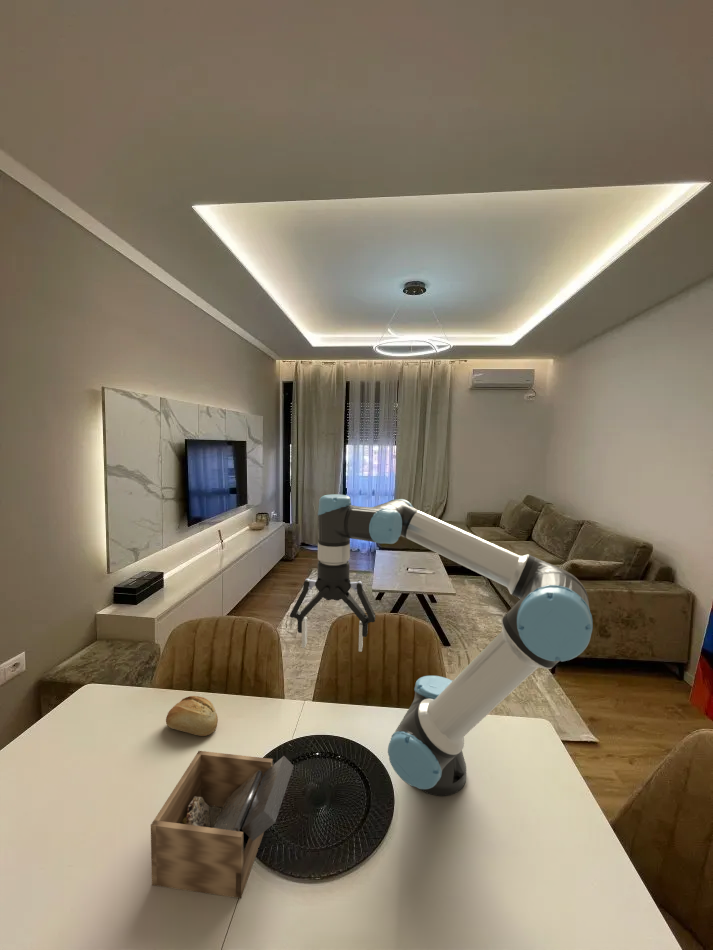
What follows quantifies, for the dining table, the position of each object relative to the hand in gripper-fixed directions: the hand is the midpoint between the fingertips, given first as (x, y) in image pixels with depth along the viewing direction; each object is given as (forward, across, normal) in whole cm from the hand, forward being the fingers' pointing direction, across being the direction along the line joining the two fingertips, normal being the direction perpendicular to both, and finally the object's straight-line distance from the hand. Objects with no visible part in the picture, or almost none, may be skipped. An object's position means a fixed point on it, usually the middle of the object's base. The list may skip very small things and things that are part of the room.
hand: (332, 647), depth 99 cm
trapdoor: (+26, +12, +20) cm, 35 cm away
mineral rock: (+29, +23, +20) cm, 42 cm away
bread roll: (+32, +41, -11) cm, 53 cm away
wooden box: (+32, +20, +20) cm, 43 cm away
